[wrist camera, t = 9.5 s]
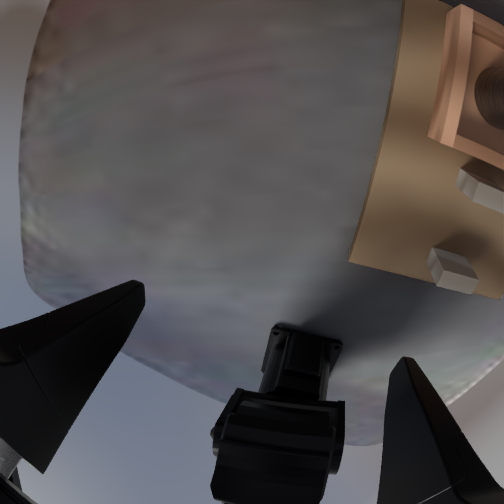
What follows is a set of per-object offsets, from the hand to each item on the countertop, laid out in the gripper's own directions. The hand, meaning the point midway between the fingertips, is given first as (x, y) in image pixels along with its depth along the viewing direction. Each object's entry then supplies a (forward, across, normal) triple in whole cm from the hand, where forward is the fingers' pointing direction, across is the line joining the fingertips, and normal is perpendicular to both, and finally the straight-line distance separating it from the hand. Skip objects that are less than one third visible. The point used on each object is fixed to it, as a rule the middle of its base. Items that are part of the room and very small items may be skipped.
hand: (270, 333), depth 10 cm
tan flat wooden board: (+13, -10, -7) cm, 18 cm away
